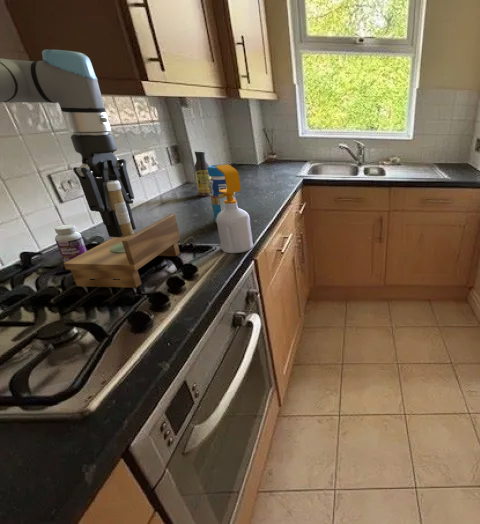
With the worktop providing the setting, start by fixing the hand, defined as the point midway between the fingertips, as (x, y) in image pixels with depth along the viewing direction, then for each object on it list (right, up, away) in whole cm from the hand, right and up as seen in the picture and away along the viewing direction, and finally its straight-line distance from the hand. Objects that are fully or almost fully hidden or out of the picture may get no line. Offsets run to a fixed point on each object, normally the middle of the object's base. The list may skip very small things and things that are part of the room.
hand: (122, 232), depth 83 cm
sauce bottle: (-16, +24, +74) cm, 79 cm away
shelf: (0, -9, +4) cm, 10 cm away
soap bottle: (+22, -3, +18) cm, 28 cm away
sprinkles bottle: (0, -1, 0) cm, 1 cm away
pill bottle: (-18, -7, +8) cm, 21 cm away
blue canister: (+9, +8, +41) cm, 42 cm away
